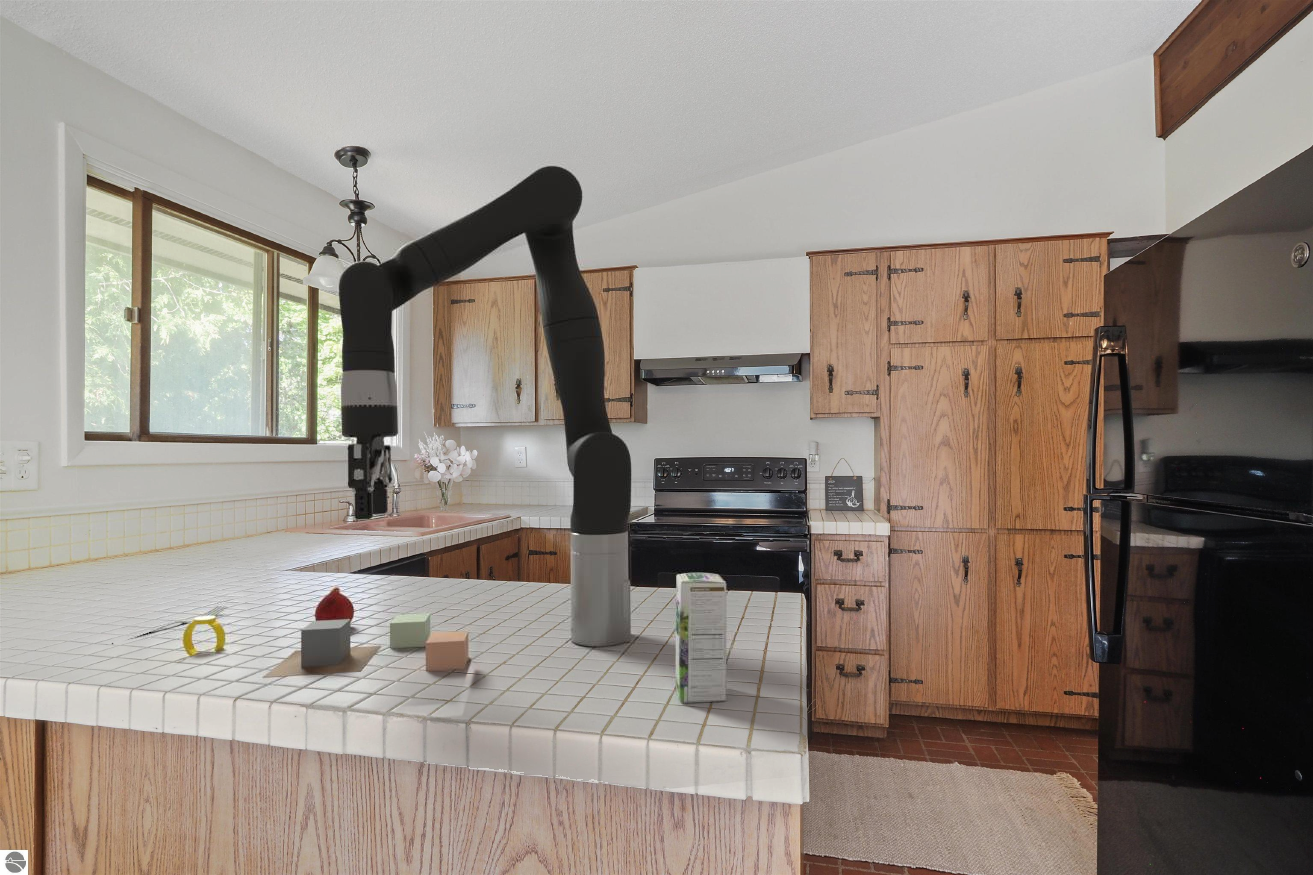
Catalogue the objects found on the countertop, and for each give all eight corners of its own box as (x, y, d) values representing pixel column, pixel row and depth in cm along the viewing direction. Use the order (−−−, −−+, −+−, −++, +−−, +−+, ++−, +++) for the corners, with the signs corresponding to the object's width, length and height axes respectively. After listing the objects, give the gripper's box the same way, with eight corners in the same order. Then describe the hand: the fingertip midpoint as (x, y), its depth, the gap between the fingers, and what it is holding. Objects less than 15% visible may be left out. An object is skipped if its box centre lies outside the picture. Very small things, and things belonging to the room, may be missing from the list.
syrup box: (674, 687, 85) (673, 572, 86) (720, 685, 86) (719, 571, 86) (679, 704, 79) (678, 581, 80) (729, 701, 80) (727, 580, 80)
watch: (228, 656, 101) (231, 617, 101) (213, 662, 98) (216, 621, 98) (192, 652, 102) (195, 613, 102) (177, 658, 99) (180, 617, 99)
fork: (80, 651, 105) (80, 639, 105) (216, 614, 128) (216, 605, 128) (96, 652, 104) (96, 641, 104) (230, 615, 128) (230, 606, 128)
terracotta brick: (468, 666, 95) (468, 630, 95) (464, 678, 90) (464, 640, 90) (431, 668, 94) (431, 632, 94) (425, 680, 89) (425, 642, 89)
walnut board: (381, 653, 101) (381, 645, 101) (360, 680, 89) (360, 671, 89) (295, 658, 99) (295, 650, 99) (262, 686, 87) (262, 677, 87)
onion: (338, 641, 107) (338, 591, 107) (306, 640, 108) (306, 590, 109) (361, 632, 113) (361, 584, 113) (330, 630, 114) (331, 583, 114)
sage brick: (430, 645, 105) (430, 613, 105) (424, 654, 100) (425, 621, 100) (396, 647, 104) (396, 614, 104) (389, 656, 99) (389, 623, 100)
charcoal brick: (350, 653, 97) (350, 619, 97) (340, 664, 92) (340, 627, 92) (313, 656, 96) (313, 620, 96) (301, 666, 91) (301, 629, 91)
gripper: (385, 400, 90) (387, 520, 90) (407, 407, 104) (409, 510, 104) (325, 401, 89) (328, 522, 89) (356, 408, 103) (358, 513, 103)
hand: (372, 516), depth 97 cm, fingers open, 8 cm apart
